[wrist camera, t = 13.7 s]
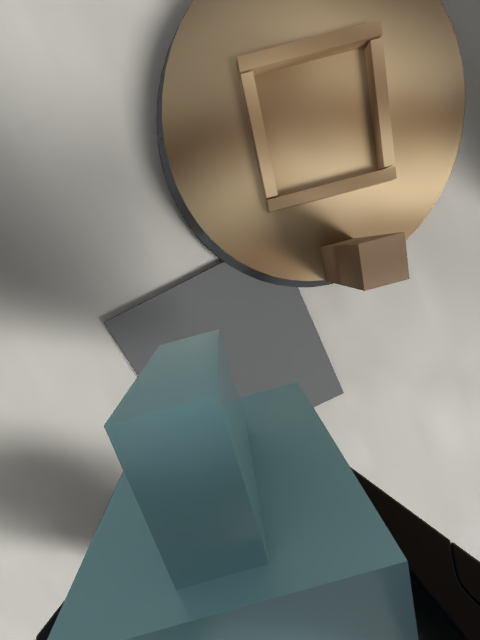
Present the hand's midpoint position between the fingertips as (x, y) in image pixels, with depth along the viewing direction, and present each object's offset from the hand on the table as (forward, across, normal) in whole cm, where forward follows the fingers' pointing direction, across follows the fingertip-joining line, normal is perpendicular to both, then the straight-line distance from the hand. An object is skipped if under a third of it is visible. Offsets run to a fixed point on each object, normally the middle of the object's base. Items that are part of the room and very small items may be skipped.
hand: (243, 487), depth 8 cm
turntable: (+10, -7, -12) cm, 18 cm away
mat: (+11, 0, 0) cm, 11 cm away
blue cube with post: (+1, 0, -1) cm, 2 cm away
